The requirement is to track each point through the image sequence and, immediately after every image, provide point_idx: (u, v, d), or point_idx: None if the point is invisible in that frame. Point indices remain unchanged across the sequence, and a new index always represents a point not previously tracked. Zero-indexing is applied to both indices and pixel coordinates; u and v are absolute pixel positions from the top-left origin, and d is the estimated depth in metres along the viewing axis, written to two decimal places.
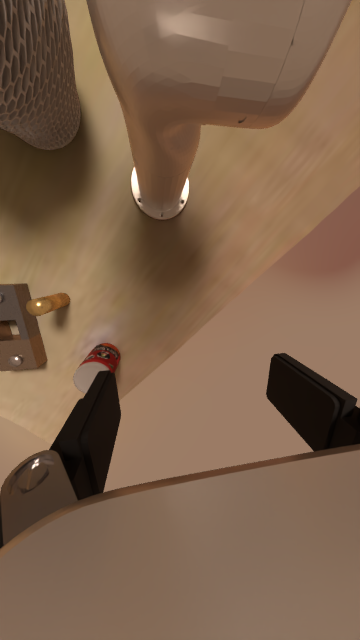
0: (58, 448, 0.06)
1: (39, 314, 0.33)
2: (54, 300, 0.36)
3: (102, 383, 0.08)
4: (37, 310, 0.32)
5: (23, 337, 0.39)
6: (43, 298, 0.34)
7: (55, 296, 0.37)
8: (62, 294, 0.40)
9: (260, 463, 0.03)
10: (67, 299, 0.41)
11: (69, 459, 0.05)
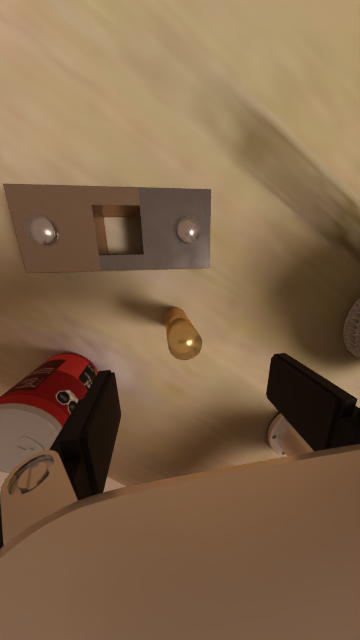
0: (58, 448, 0.06)
1: (171, 349, 0.16)
2: None
3: (102, 383, 0.08)
4: (180, 346, 0.16)
5: (104, 260, 0.19)
6: None
7: None
8: None
9: (260, 463, 0.03)
10: None
11: (69, 459, 0.05)
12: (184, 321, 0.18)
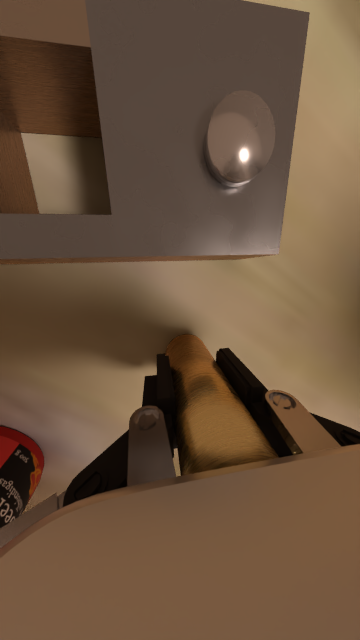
0: None
1: None
2: None
3: (165, 362, 0.09)
4: None
5: None
6: None
7: None
8: None
9: (260, 463, 0.03)
10: None
11: (162, 413, 0.07)
12: (230, 411, 0.06)
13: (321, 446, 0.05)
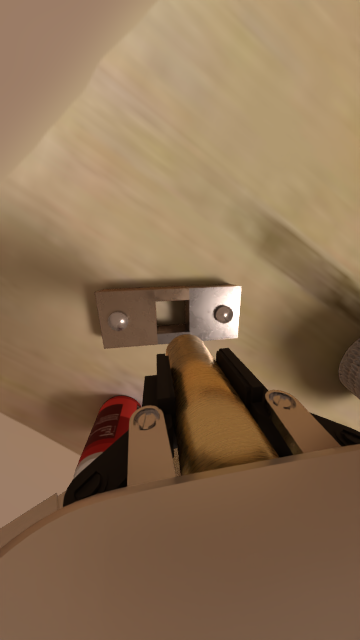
0: None
1: None
2: None
3: (165, 362, 0.09)
4: None
5: (161, 337, 0.25)
6: None
7: None
8: None
9: (260, 463, 0.03)
10: None
11: (162, 413, 0.07)
12: (231, 411, 0.06)
13: (321, 446, 0.05)
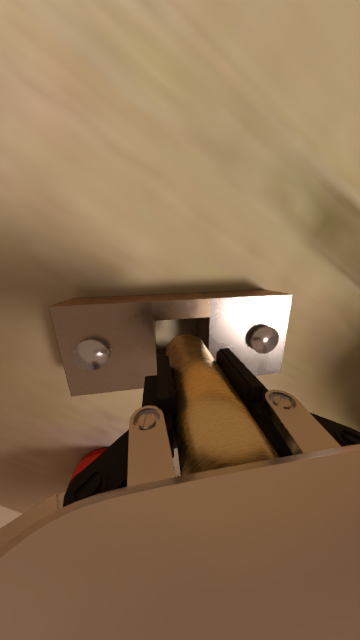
0: None
1: None
2: None
3: (165, 362, 0.09)
4: None
5: None
6: None
7: None
8: None
9: (260, 463, 0.03)
10: None
11: (162, 413, 0.07)
12: (231, 411, 0.06)
13: (321, 446, 0.05)
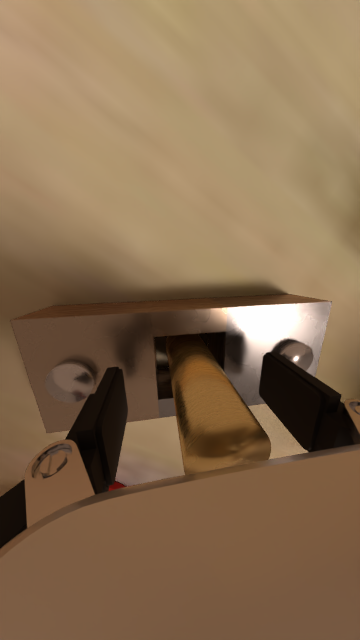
0: (73, 439, 0.06)
1: (192, 473, 0.06)
2: None
3: (112, 378, 0.08)
4: (214, 465, 0.06)
5: (166, 405, 0.12)
6: None
7: None
8: None
9: (260, 463, 0.03)
10: None
11: (85, 448, 0.06)
12: (215, 378, 0.08)
13: None
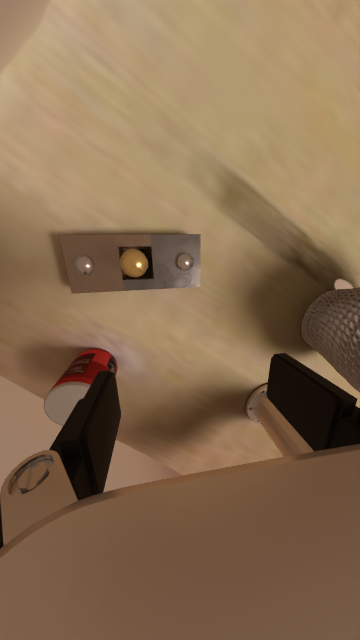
0: (58, 448, 0.06)
1: (123, 266, 0.20)
2: None
3: (102, 383, 0.08)
4: (129, 265, 0.20)
5: (126, 283, 0.27)
6: None
7: None
8: None
9: (260, 463, 0.03)
10: None
11: (69, 459, 0.05)
12: None
13: None
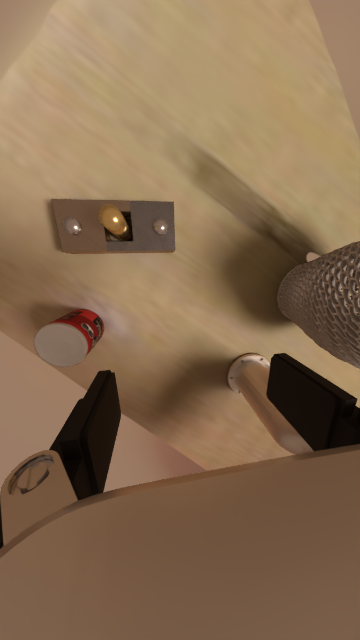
0: (58, 448, 0.06)
1: (101, 219, 0.24)
2: (122, 232, 0.28)
3: (102, 383, 0.08)
4: (106, 218, 0.24)
5: (109, 244, 0.31)
6: (123, 224, 0.27)
7: (126, 232, 0.30)
8: (129, 234, 0.33)
9: (260, 463, 0.03)
10: (123, 239, 0.33)
11: (69, 459, 0.05)
12: None
13: None
